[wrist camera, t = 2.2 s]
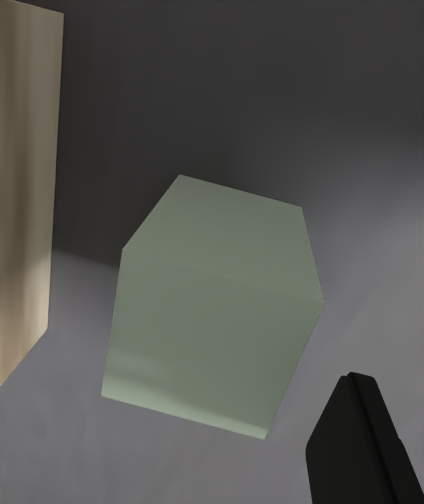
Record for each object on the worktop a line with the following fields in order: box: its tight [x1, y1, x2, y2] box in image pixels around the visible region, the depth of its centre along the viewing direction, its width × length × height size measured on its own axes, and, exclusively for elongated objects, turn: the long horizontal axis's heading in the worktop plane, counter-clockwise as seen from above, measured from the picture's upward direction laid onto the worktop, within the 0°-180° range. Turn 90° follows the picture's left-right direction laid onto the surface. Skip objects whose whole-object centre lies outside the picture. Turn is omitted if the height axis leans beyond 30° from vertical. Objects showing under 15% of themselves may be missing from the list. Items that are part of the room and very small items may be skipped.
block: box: [101, 174, 324, 440], centre depth 14 cm, size 5×5×7 cm
